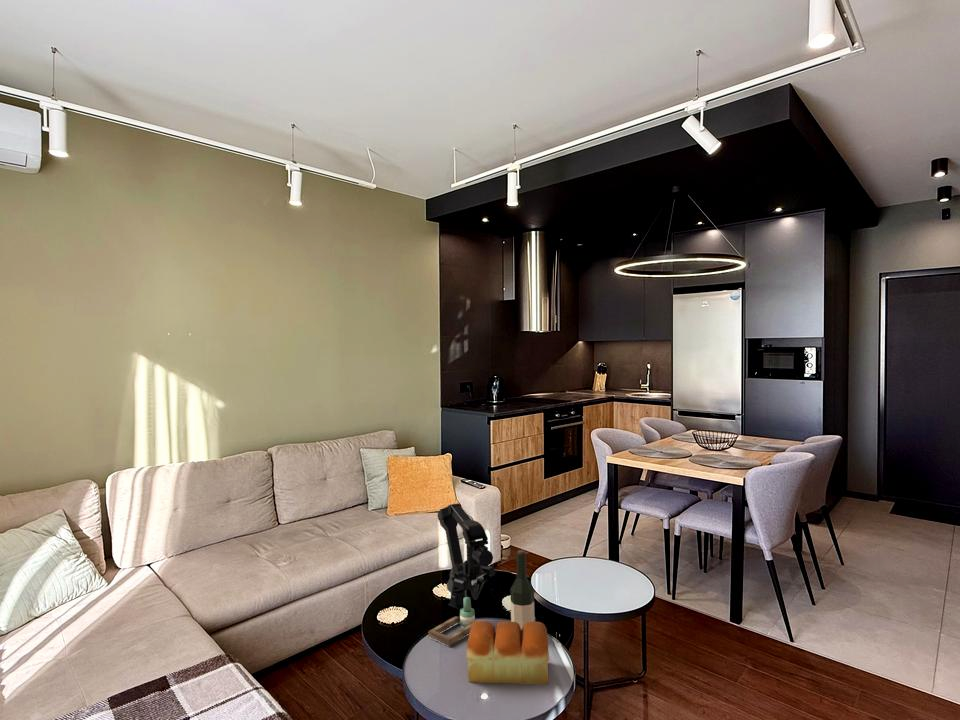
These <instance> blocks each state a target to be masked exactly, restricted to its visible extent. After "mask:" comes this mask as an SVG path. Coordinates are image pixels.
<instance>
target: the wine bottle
mask: <svg viewBox="0 0 960 720" xmlns="http://www.w3.org/2000/svg"><path fill="white" fill-rule="evenodd" d="M509 592H510V622H517V623H518V624H519V625H520V628H521V637H522V627H523V625H524V624H525V623H527V622H536V621H535V618H536V617H535V590H534V587H533V586H532V584H531V582H530V580H529V579H528V577H527V553H526V552H525V550H523V549H519V550H517V553H516V578H515V580H514V581H513V583H512V585H511V587H510V589H509Z"/></svg>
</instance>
